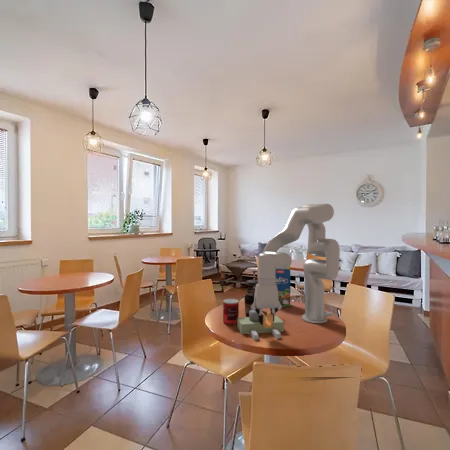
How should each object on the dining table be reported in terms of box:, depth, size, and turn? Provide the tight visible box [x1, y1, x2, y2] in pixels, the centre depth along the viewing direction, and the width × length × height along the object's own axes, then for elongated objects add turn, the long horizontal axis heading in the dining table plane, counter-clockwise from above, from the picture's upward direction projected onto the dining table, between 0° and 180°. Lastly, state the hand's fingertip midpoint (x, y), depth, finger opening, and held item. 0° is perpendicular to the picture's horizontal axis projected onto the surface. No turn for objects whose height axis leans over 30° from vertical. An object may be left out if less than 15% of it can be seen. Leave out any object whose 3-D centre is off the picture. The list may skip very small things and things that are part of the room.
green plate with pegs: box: [236, 310, 285, 341], centre depth 129 cm, size 20×16×8 cm
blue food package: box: [275, 265, 291, 308], centre depth 172 cm, size 6×12×25 cm, turn 80°
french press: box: [245, 269, 258, 294], centre depth 161 cm, size 12×9×23 cm
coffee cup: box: [243, 292, 258, 317], centre depth 148 cm, size 9×8×13 cm
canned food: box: [222, 298, 240, 326], centre depth 142 cm, size 8×8×11 cm
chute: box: [262, 311, 273, 328], centre depth 123 cm, size 4×6×5 cm, turn 9°
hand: (266, 323), depth 123 cm, fingers closed on chute, 4 cm apart
